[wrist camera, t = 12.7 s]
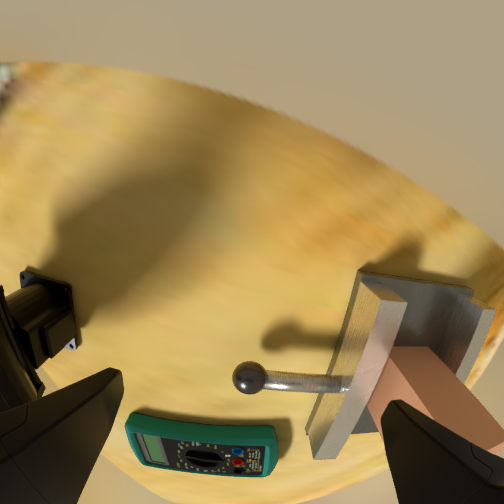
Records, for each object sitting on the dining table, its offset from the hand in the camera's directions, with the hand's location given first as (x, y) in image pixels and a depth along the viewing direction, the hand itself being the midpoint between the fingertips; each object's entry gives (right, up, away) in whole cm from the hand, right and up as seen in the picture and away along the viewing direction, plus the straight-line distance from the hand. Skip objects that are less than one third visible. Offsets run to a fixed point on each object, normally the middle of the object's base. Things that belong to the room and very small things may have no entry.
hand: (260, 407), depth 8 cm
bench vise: (+8, -5, +13) cm, 16 cm away
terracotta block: (+12, -5, +12) cm, 18 cm away
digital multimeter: (-5, -15, +16) cm, 22 cm away
